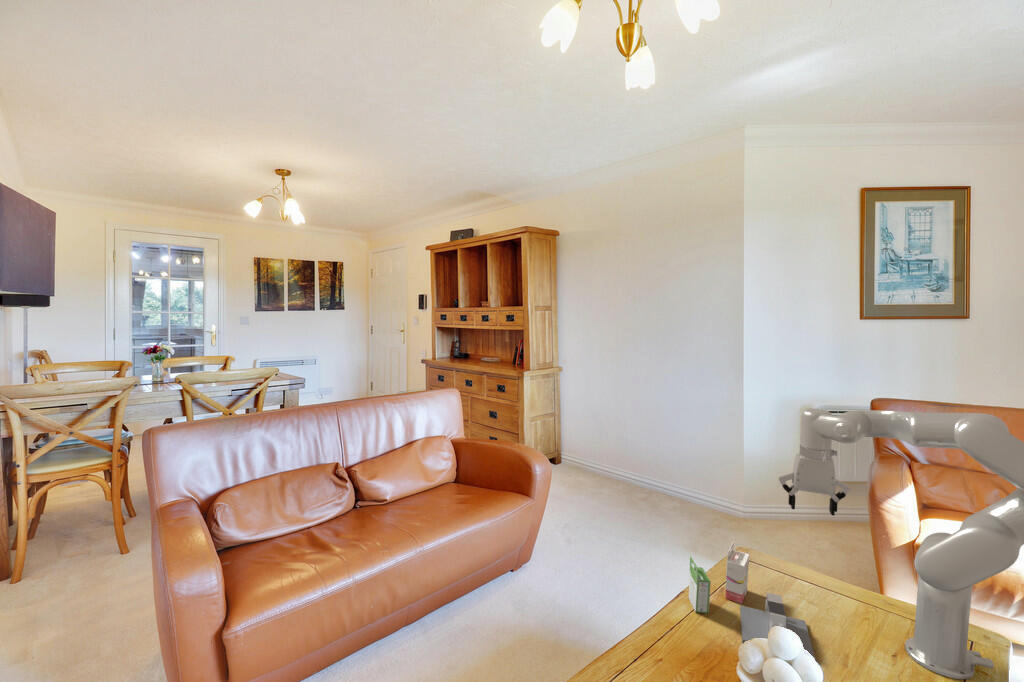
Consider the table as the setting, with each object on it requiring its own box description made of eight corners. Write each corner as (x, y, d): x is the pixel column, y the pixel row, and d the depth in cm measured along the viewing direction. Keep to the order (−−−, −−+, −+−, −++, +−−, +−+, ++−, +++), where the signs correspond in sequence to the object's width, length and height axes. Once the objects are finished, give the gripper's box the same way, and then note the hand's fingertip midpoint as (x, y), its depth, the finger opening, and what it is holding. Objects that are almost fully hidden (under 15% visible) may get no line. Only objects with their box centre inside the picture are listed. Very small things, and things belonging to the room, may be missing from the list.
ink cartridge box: (743, 605, 136) (745, 556, 135) (724, 598, 139) (726, 551, 138) (748, 590, 143) (750, 544, 142) (730, 584, 146) (732, 539, 144)
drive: (780, 619, 128) (781, 595, 127) (784, 644, 119) (786, 617, 118) (765, 616, 129) (766, 592, 129) (768, 639, 120) (770, 614, 120)
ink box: (709, 614, 132) (711, 568, 131) (695, 613, 132) (696, 568, 131) (701, 598, 139) (703, 555, 138) (688, 597, 139) (689, 555, 138)
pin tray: (804, 624, 128) (805, 606, 127) (815, 662, 114) (816, 643, 114) (740, 608, 134) (740, 592, 134) (742, 643, 120) (743, 624, 120)
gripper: (848, 452, 133) (844, 510, 134) (778, 445, 140) (776, 500, 141) (855, 460, 126) (851, 521, 127) (781, 452, 133) (779, 510, 134)
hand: (811, 510), depth 134 cm, fingers open, 9 cm apart
